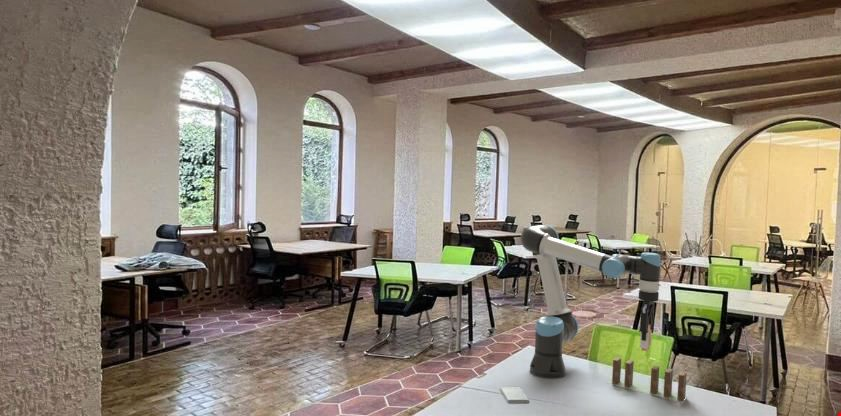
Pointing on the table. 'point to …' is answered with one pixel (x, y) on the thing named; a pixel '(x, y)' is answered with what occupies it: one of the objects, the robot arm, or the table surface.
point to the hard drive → (514, 395)
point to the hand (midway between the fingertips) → (645, 346)
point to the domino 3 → (648, 338)
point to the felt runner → (647, 390)
